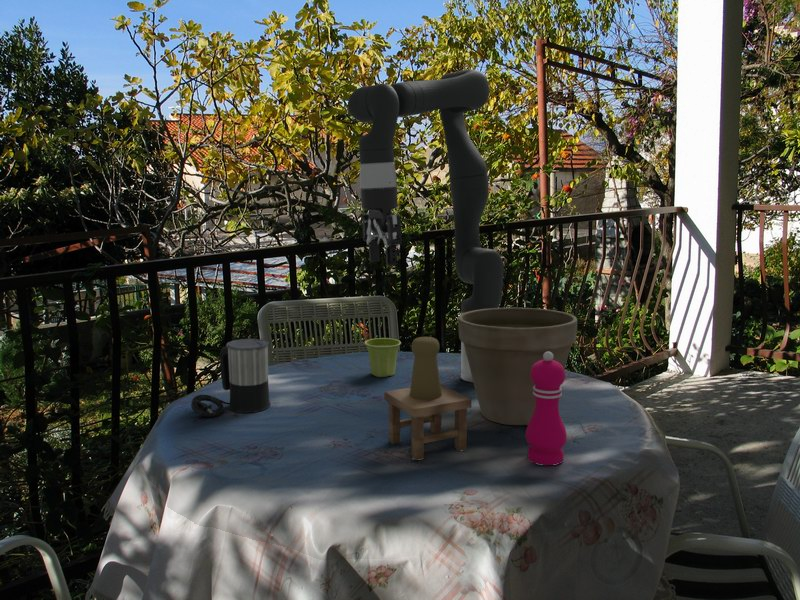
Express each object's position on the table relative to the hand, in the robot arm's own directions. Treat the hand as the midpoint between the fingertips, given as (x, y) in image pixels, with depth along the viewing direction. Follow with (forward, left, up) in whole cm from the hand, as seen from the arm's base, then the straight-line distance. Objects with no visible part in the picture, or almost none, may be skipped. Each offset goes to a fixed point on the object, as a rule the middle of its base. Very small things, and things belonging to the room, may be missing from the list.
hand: (383, 263), depth 146 cm
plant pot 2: (-26, +10, -33) cm, 43 cm away
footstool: (-2, +21, -33) cm, 39 cm away
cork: (-2, +21, -23) cm, 31 cm away
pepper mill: (-20, +34, -33) cm, 52 cm away
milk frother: (+32, -13, -33) cm, 47 cm away
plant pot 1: (-8, -30, -33) cm, 45 cm away
